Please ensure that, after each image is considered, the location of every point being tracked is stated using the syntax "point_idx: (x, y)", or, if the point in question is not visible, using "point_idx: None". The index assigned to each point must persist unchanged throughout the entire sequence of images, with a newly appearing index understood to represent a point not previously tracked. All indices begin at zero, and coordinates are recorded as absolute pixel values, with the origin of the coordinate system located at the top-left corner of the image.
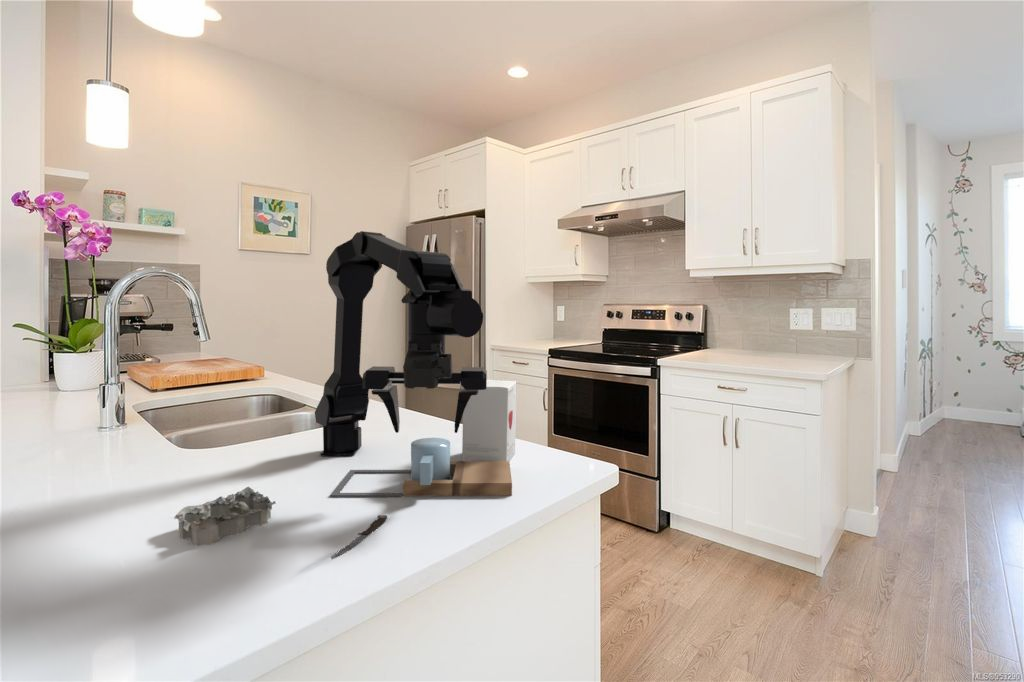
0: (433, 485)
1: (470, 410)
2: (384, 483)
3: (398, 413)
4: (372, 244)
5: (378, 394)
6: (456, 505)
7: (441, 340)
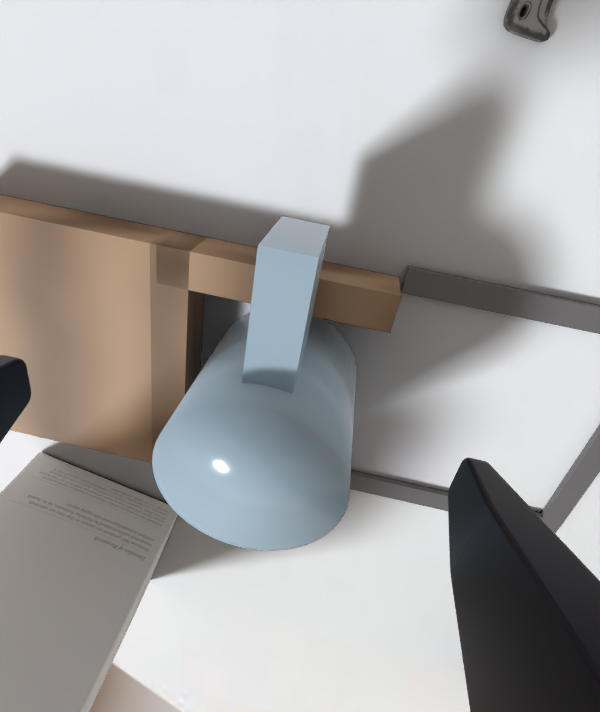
0: None
1: (42, 698)
2: (451, 408)
3: (474, 647)
4: None
5: None
6: (188, 124)
7: None
